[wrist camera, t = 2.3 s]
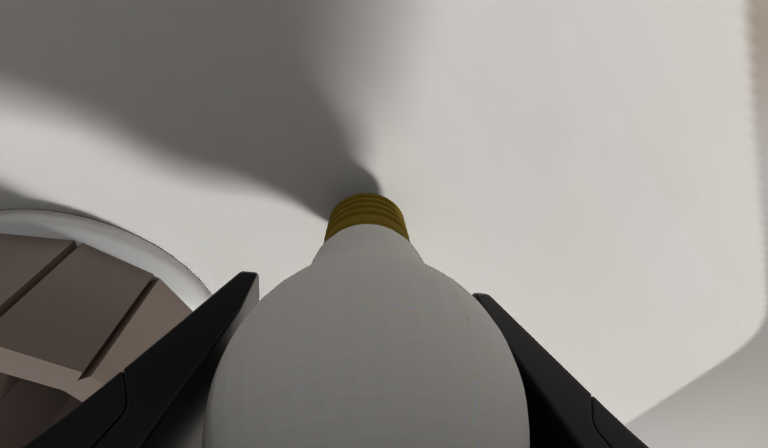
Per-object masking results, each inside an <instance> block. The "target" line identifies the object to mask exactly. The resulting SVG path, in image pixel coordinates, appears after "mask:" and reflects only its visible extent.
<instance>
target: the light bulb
mask: <svg viewBox="0 0 768 448" xmlns="http://www.w3.org/2000/svg"><path fill="white" fill-rule="evenodd" d="M202 448H530V434H529V420H528V410H527V401H526V396H525V390H524V386H523V383H522V379H521V376H520V373H519V370H518V367H517V365H516V362H515V360H514V357H513V355H512V353H511V350H510V348H509V346H508V344H507V341H506V340H505V338H504V336H503V334H502V332H501V331H500V329H499V328H498V326H497V325H496V323H495V322H494V321H493V319H492V318H491V317H490V315H489V314H488V313H487V311H486V310H485V309H484V308H483V306H482V305H481V304H480V303H479V302H478V301H477V300H476V299H475V298H474V297H473V296H472V295H471V294H470V293H469V292H468V291H466V290H465V289H464V288H463V287H462V286H461V285H459V284H458V283H457V282H456V281H454V280H453V279H451V278H450V277H448V276H446V275H445V274H443V273H442V272H440V271H438V270H437V269H435V268H433V267H431V266H429V265H427V264H425V263H424V262H423V260H422V259H421V257H420V255H419V253H418V252H417V251H416V249H415V248H414V247H413V245H412V244H411V243H410V241H409V236H408V233H407V229H406V225H405V222H404V218H403V215H402V213H401V211H400V209H399V208H398V207H397V206H396V205H395V204H394V203H393V202H392V201H390V200H389V199H387V198H385V197H383V196H380V195H377V194H370V193H363V194H357V195H353V196H350V197H348V198H346V199H344V200H343V201H341V202H340V203H339V204H338V205H337V206H336V207H335V208H334V209H333V211H332V213H331V215H330V218H329V223H328V227H327V230H326V235H325V239H324V243H323V245H322V246H321V248H320V249H319V251H318V252H317V254H316V256H315V258H314V260H313V262H312V264H311V265H310V266H308V267H306V268H304V269H302V270H301V271H299V272H297V273H295V274H294V275H292V276H290V277H289V278H287V279H286V280H284V281H282V282H281V283H280V284H279V285H278V286H276V287H275V288H274V289H273V290H272V291H270V292H269V293H268V294H267V295H266V296H264V297H263V298H262V299H261V300H260V301H259V302H258V303H257V304H256V306H255V307H254V308H253V309H252V310H251V312H250V313H249V314H248V315H247V317H246V318H245V319H244V320H243V322H242V323H241V324H240V325H239V327H238V328H237V330H236V331H235V333H234V334H233V336H232V338H231V340H230V342H229V344H228V345H227V347H226V350H225V352H224V354H223V356H222V358H221V360H220V362H219V365H218V367H217V369H216V371H215V374H214V377H213V380H212V383H211V387H210V391H209V395H208V400H207V406H206V412H205V419H204V425H203V437H202Z"/></svg>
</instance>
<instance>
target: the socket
mask: <svg viewBox="0 0 768 448" xmlns="http://www.w3.org/2000/svg"><path fill="white" fill-rule="evenodd" d="M211 296H212V295H211V293H210V292H209V291H208V289H207V288H206V287H205V286H204V284H203V283H202V282H201V281H200V280H199V279H198V278H197V277H196V276H195V275H194V274H193V273H192V272H191V271H190V270H189V269H188V268H186V267H185V266H184V265H183V264H181V263H180V262H179V261H178V260H176V259H175V258H174V257H172V256H171V255H169V254H168V253H166V252H164V251H163V250H161V249H160V248H158V247H157V246H155V245H153V244H151V243H149V242H147V241H145V240H143V239H142V238H140V237H138V236H136V235H133V234H131V233H129V232H126V231H124V230H122V229H119V228H117V227H114V226H111V225H108V224H105V223H102V222H99V221H96V220H93V219H89V218H85V217H81V216H77V215H73V214H67V213H61V212H54V211H48V210H32V209H15V210H0V448H21V447H22V446H24V445H25V444H27V443H28V442H29V441H31V440H32V439H34V438H35V437H36V436H38V435H39V434H41V433H42V432H43V431H45V430H46V429H47V428H49V427H50V426H51V425H53V424H54V423H56V422H57V421H58V420H60V419H61V418H62V417H64V416H65V415H66V414H68V413H69V412H70V411H72V410H73V409H74V408H76V407H77V406H78V405H80V404H81V403H82V402H83V401H85V400H86V399H87V398H88V397H90V396H91V395H92V394H93V393H95V392H96V391H97V390H98V389H100V388H101V387H102V386H103V385H105V384H106V383H107V382H108V381H109V380H111V379H112V378H113V377H114V376H116V375H117V374H118V373H119V372H123V373H124V371H123V370H124V368H125V367H127V366H128V365H129V364H130V363H131V362H133V361H134V360H135V359H136V358H137V357H139V356H140V355H141V354H142V353H143V352H145V351H146V350H147V349H148V348H149V347H151V346H152V345H153V344H154V343H155V342H157V341H158V340H159V339H160V338H161V337H163V336H164V335H165V334H166V333H167V332H169V331H170V330H171V329H172V328H174V327H175V326H176V325H177V324H178V323H180V322H181V321H182V320H183V319H184V318H186V317H187V316H188V315H189V314H190V313H192V312H193V311H194V310H195V309H196V308H198V307H199V306H200V305H201V304H202V303H204V302H205V301H206V300H207V299H208V298H210V297H211Z"/></svg>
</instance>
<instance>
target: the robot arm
mask: <svg viewBox="0 0 768 448" xmlns="http://www.w3.org/2000/svg"><path fill="white" fill-rule="evenodd" d="M472 296H473V297H474V298H475V299H476V300H477V301H478V302H479V303H480V304H481V305H482V306H483V308H484V309H485V310H486V311H487V313H488V314H489V315H490V317H491V318H492V319H493V321H494V322H495V323H496V325H497V326H498V328H499V329H500V331H501V332H502V334H503V336H504V338H505V340H506V341H507V344H508V346H509V348H510V350H511V353H512V355H513V357H514V360H515V362H516V365H517V367H518V370H519V373H520V376H521V379H522V383H523V386H524V390H525V396H526V401H527V410H528V420H529V434H530V448H648V446H646V445H645V444H644V443H643V442H642V441H641V440H640V439H638V438H637V437H636V436H635V435H634V434H633V433H632V432H631V431H629V430H628V429H627V428H626V427H625V426H624V425H623V424H622V423H621V422H620V421H619V420H618V419H617V418H616V417H614V416H613V415H612V414H611V413H610V412H609V411H608V410H607V409H606V408H605V407H604V406H603V405H602V404H601V403H600V402H599V401H598V400H597V399H596V398H595V397H591V394H590V393H589V392H588V391H587V390H586V389H585V388H584V387H583V386H582V385H581V384H580V383H579V382H578V381H577V380H576V379H575V378H574V377H573V376H572V375H571V374H570V373H569V372H568V371H567V370H566V369H565V368H564V367H563V366H562V365H561V364H560V363H559V362H557V361H556V360H555V359H554V358H553V357H552V356H551V355H550V354H549V353H548V352H547V351H546V350H545V349H544V348H543V347H542V346H541V345H540V344H539V343H538V342H537V341H536V340H535V339H534V338H533V337H532V336H531V335H530V334H529V333H528V332H527V331H526V330H525V329H524V328H522V327H521V326H520V325H519V324H518V323H517V322H516V321H515V320H514V319H513V318H512V317H511V316H510V315H509V314H508V313H507V312H506V311H505V310H504V309H503V308H502V307H501V306H500V305H499V304H498V303H497V302H496V301H495V300H494V299H493V298H492V297H491V296H489V295H488V294H482V293H474V294H473V295H472ZM258 302H259V276H258V274H257V273H255V272H245V271H242V272H240V273H239V274H237V275H236V276H235V277H234V278H232V279H231V280H230V281H229V282H228V283H226V284H225V285H224V286H223V287H222V288H220V289H219V290H218V291H217V292H216V293H214V294H213V295H212V296H211V297H210V298H208V299H207V300H206V301H205V302H204V303H202V304H201V305H200V306H199V307H198V308H196V309H195V310H194V311H193V312H192V313H190V314H189V315H188V316H187V317H186V318H184V319H183V320H182V321H181V322H180V323H178V324H177V325H176V326H175V327H174V328H172V329H171V330H170V331H169V332H167V333H166V334H165V335H164V336H163V337H161V338H160V339H159V340H158V341H157V342H155V343H154V344H153V345H152V346H151V347H149V348H148V349H147V350H146V351H145V352H143V353H142V354H141V355H140V356H139V357H137V358H136V359H135V360H134V361H133V362H131V363H130V364H129V365H128V366H127V367H125V368H124V370H123V371H124V373H123V372H119V373H118V374H117V375H116V376H114V377H113V378H112V379H111V380H109V381H108V382H107V383H106V384H105V385H103V386H102V387H101V388H100V389H98V390H97V391H96V392H95V393H93V394H92V395H91V396H90V397H88V398H87V399H86V400H85V401H83V402H82V403H81V404H80V405H78V406H77V407H76V408H74V409H73V410H72V411H70V412H69V413H68V414H66V415H65V416H64V417H62V418H61V419H60V420H58V421H57V422H56V423H54V424H53V425H51V426H50V427H49V428H47V429H46V430H45V431H43V432H42V433H41V434H39V435H38V436H36V437H35V438H34V439H32V440H31V441H29V442H28V443H27V444H25V445H24V446H22V447H21V448H202V437H203V425H204V419H205V412H206V406H207V400H208V395H209V391H210V387H211V383H212V380H213V377H214V374H215V371H216V369H217V367H218V365H219V362H220V360H221V358H222V356H223V354H224V352H225V350H226V347H227V345H228V344H229V342H230V340H231V338H232V336H233V334H234V333H235V331H236V330H237V328H238V327H239V325H240V324H241V323H242V322H243V320H244V319H245V318H246V317H247V315H248V314H249V313H250V312H251V310H252V309H253V308H254V307H255V306H256V304H257V303H258Z"/></svg>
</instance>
